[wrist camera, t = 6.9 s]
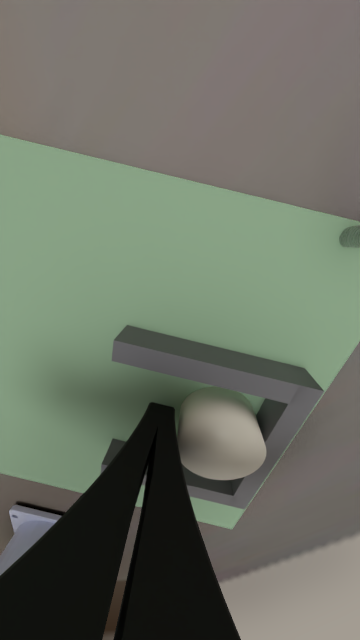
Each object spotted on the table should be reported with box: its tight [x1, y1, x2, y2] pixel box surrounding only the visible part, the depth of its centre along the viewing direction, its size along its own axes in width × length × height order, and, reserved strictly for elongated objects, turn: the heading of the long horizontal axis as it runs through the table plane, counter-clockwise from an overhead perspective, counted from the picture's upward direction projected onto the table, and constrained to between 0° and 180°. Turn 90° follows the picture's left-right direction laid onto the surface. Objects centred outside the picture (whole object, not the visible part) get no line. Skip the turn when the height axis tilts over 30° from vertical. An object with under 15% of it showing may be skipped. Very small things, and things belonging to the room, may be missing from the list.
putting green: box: [0, 135, 360, 529], centre depth 11 cm, size 21×26×1 cm
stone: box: [177, 386, 266, 480], centre depth 10 cm, size 4×4×2 cm
